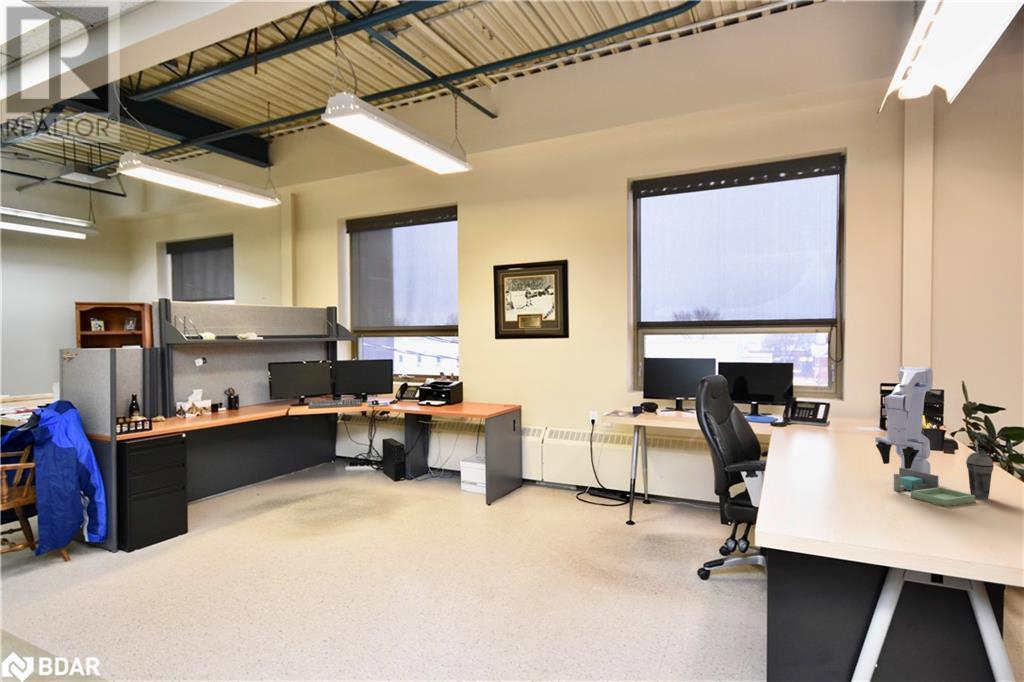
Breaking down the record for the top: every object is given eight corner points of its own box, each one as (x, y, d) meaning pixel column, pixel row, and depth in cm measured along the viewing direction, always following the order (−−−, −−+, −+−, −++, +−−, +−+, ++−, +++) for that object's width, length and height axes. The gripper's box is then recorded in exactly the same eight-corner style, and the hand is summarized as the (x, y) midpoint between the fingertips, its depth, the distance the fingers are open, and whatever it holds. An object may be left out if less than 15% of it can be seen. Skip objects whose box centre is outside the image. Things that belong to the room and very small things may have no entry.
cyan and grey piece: (910, 486, 195) (910, 470, 195) (923, 490, 191) (923, 473, 191) (888, 489, 191) (888, 472, 191) (901, 492, 187) (901, 475, 187)
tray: (940, 493, 186) (940, 487, 186) (975, 502, 176) (975, 495, 176) (910, 497, 181) (910, 491, 181) (944, 506, 171) (944, 499, 171)
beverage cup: (999, 501, 177) (999, 442, 177) (974, 500, 179) (974, 441, 179) (984, 495, 184) (984, 438, 184) (960, 494, 186) (961, 437, 186)
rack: (900, 483, 199) (900, 467, 199) (938, 492, 187) (938, 475, 187) (886, 485, 197) (886, 469, 197) (923, 494, 184) (923, 477, 184)
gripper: (869, 425, 195) (869, 462, 195) (910, 432, 181) (910, 471, 181) (882, 424, 197) (882, 460, 197) (924, 431, 183) (924, 469, 183)
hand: (896, 465), depth 189 cm, fingers open, 7 cm apart
